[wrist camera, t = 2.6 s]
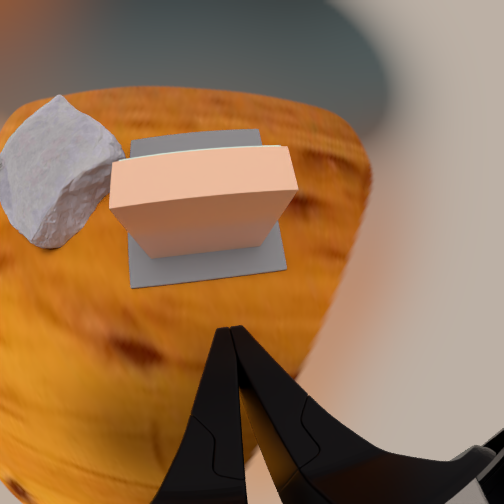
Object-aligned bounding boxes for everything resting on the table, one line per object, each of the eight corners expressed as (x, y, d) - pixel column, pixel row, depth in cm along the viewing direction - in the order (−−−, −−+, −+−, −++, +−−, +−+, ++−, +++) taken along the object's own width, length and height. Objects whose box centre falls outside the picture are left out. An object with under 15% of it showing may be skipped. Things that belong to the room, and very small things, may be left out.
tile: (260, 246, 18) (298, 189, 10) (151, 258, 16) (109, 208, 9) (254, 214, 18) (286, 142, 11) (149, 225, 17) (112, 158, 9)
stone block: (68, 268, 17) (144, 161, 18) (27, 263, 13) (117, 129, 13) (12, 192, 18) (71, 108, 19) (-19, 177, 13) (46, 82, 14)
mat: (285, 269, 18) (287, 268, 18) (132, 288, 16) (130, 288, 16) (257, 131, 20) (258, 129, 20) (132, 142, 19) (131, 140, 18)
